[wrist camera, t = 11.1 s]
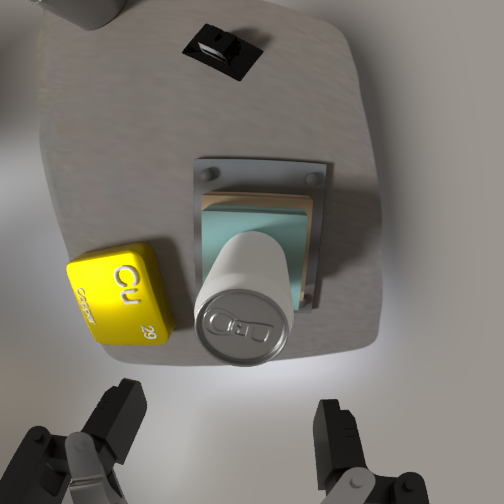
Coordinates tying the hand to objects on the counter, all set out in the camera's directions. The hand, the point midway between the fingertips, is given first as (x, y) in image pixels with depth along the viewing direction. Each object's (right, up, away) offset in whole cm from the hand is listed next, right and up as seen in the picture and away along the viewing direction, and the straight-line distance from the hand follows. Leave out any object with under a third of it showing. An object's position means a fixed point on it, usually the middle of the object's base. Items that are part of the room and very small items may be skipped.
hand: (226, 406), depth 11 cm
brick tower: (+2, +8, +25) cm, 27 cm away
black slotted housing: (-3, +33, +18) cm, 38 cm away
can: (+1, +6, +17) cm, 18 cm away
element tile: (-19, 0, +30) cm, 35 cm away
